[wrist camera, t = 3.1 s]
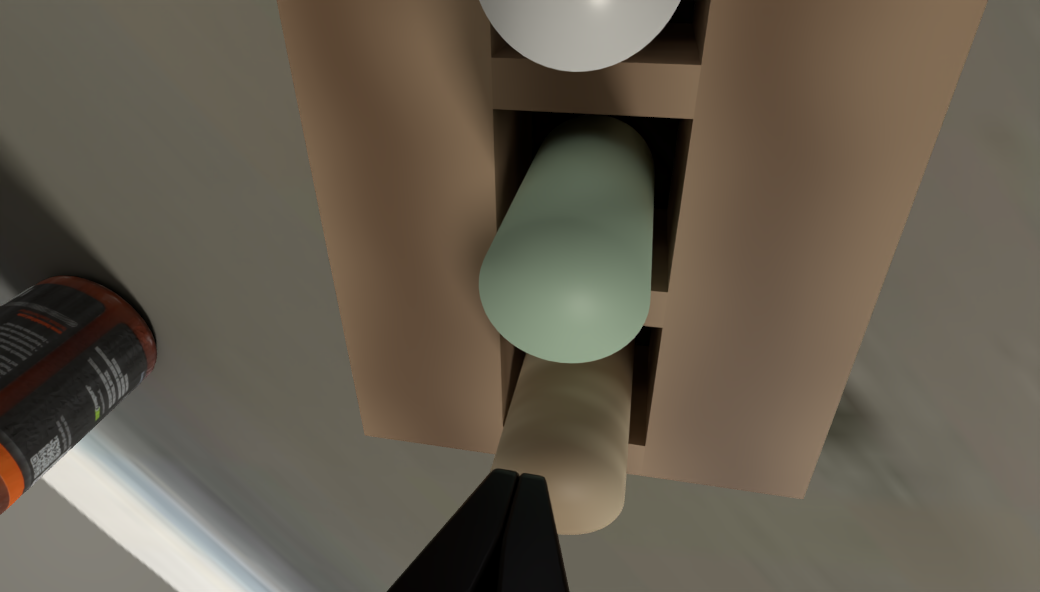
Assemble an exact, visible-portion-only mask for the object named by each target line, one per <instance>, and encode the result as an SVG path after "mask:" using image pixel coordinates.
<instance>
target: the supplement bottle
mask: <svg viewBox="0 0 1040 592" xmlns="http://www.w3.org/2000/svg"><path fill="white" fill-rule="evenodd" d="M156 358H157V349H156V344H155V341H154V338H153V335H152V332H151V331H150V329H149V327H148V326H147V324H146V323H145V321H144V320H143V318H142V317H141V316H140V315H139V314H138V313H137V312H136V310H135V309H134V308H133V307H132V306H131V305H130V304H128V303H127V302H126V301H125V300H124V299H122V298H121V297H120V296H119V295H117V294H116V293H115V292H113V291H111V290H110V289H108V288H106V287H104V286H102V285H100V284H98V283H95V282H93V281H90V280H87V279H84V278H80V277H75V276H55V277H50V278H48V279H45V280H43V281H41V282H39V283H38V284H36V285H35V286H32V287H30V288H28V289H26V290H25V291H23V292H22V293H20V294H19V295H17V296H16V297H14V298H12V299H11V300H9V301H8V302H6V303H5V304H3V305H1V306H0V514H2V513H3V512H4V511H5V510H6V509H8V508H9V507H10V506H11V505H12V504H13V503H14V502H15V501H16V500H17V499H18V498H19V497H20V496H21V495H22V494H23V493H24V492H26V491H27V490H28V489H29V488H30V487H31V486H32V485H33V484H34V483H35V482H36V481H37V480H39V479H40V478H41V477H42V476H43V475H44V474H45V473H46V472H47V471H48V470H49V469H50V468H51V467H52V466H53V465H54V464H56V463H57V462H58V461H59V460H60V459H61V458H62V457H63V456H64V455H65V454H66V453H67V452H68V451H69V450H70V449H71V448H73V446H75V445H76V444H77V443H78V442H79V441H80V440H81V439H82V438H83V437H84V436H85V435H86V434H87V433H88V432H90V431H91V430H92V429H93V428H94V427H95V426H96V425H97V424H98V423H99V422H100V421H101V420H102V419H103V418H104V417H105V416H106V415H108V414H109V413H110V412H111V411H112V410H113V409H114V408H115V407H116V406H117V405H118V404H119V403H120V402H121V401H122V400H123V399H124V398H125V397H126V396H127V395H129V394H130V393H131V392H132V391H133V390H134V389H135V388H136V387H137V386H138V385H139V384H140V383H141V382H142V381H143V380H144V379H145V378H146V377H147V376H148V375H149V374H150V373H151V372H152V370H153V368H154V365H155V363H156Z"/></svg>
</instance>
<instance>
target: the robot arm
mask: <svg viewBox="0 0 1040 592" xmlns="http://www.w3.org/2000/svg"><path fill="white" fill-rule="evenodd" d="M387 592H569V587H568V582H567V577H566V572H565V568H564V563H563V558H562V553H561V548H560V544H559V539H558V534H557V529H556V524H555V519H554V515H553V510H552V505H551V500H550V495H549V491H548V486H547V481H546V479H545V477H543V476H540V475H535V474H529V473H522V474H521V475H520V476H519V473H518V472H516V471H512V470H506V469H501V468H496V469H494V470H492V471H491V472H490V473H489V475H488V476H487V477H486V478H485V479H484V480H483V481H482V483H481V484H480V485H479V486H478V487H477V488H476V490H475V491H474V492H473V493H472V494H471V495H470V496H469V498H468V499H467V500H466V501H465V502H464V503H463V504H462V506H461V507H460V508H459V509H458V510H457V511H456V513H455V514H454V515H453V516H452V517H451V518H450V519H449V521H448V522H447V523H446V524H445V525H444V526H443V527H442V529H441V530H440V531H439V532H438V533H437V534H436V536H435V537H434V538H433V539H432V540H431V541H430V542H429V544H428V545H427V546H426V547H425V548H424V549H423V550H422V552H421V553H420V554H419V555H418V556H417V557H416V559H415V560H414V561H413V562H412V563H411V564H410V565H409V567H408V568H407V569H406V570H405V571H404V572H403V573H402V575H401V576H400V577H399V578H398V579H397V580H396V581H395V583H394V584H393V585H392V586H391V587H390V588H389V590H388V591H387Z"/></svg>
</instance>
